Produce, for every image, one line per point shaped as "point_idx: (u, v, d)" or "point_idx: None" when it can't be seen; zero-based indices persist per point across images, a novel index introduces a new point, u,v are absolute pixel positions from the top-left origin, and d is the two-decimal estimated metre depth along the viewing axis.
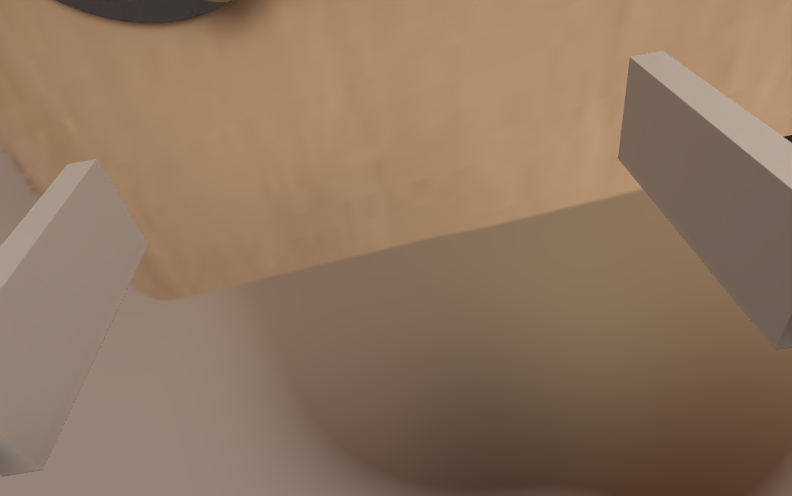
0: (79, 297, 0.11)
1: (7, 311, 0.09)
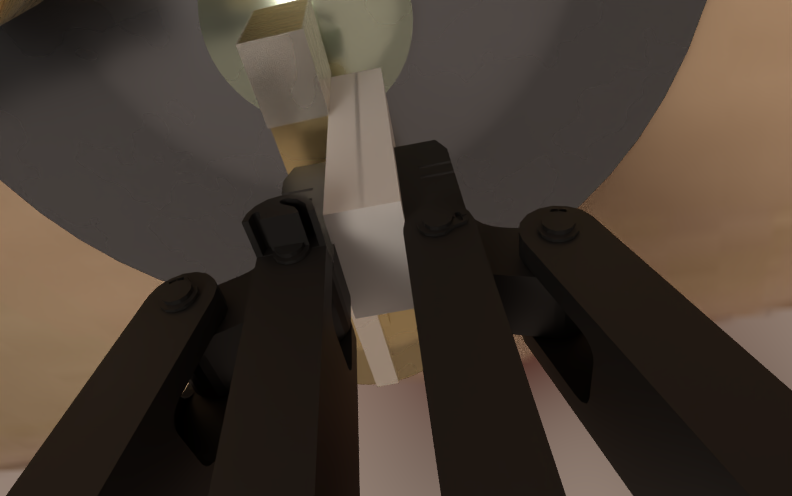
0: None
1: None
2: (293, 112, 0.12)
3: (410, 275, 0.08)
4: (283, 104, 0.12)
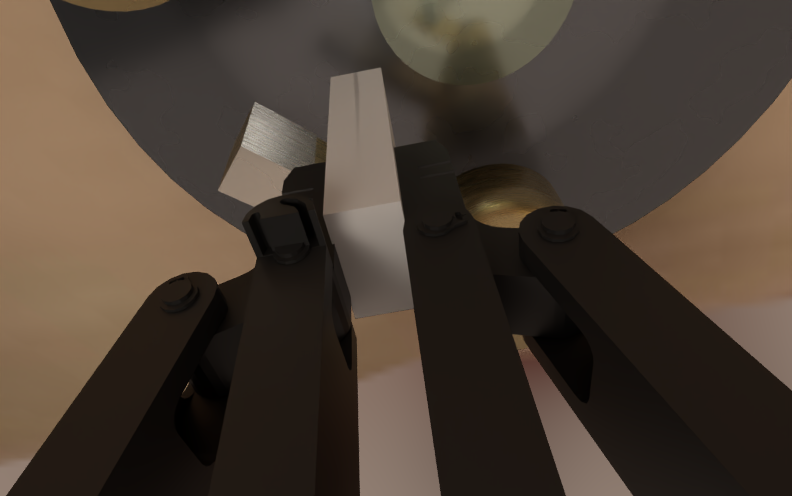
0: None
1: None
2: None
3: (410, 275, 0.08)
4: None
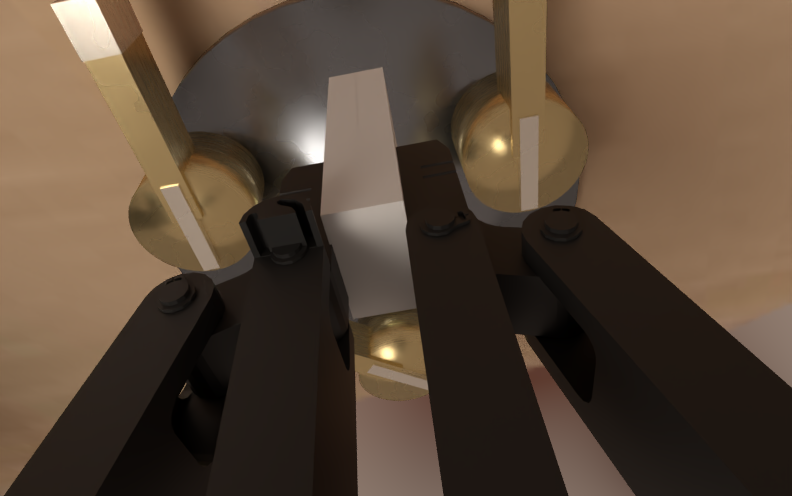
0: None
1: None
2: None
3: (413, 274, 0.08)
4: None
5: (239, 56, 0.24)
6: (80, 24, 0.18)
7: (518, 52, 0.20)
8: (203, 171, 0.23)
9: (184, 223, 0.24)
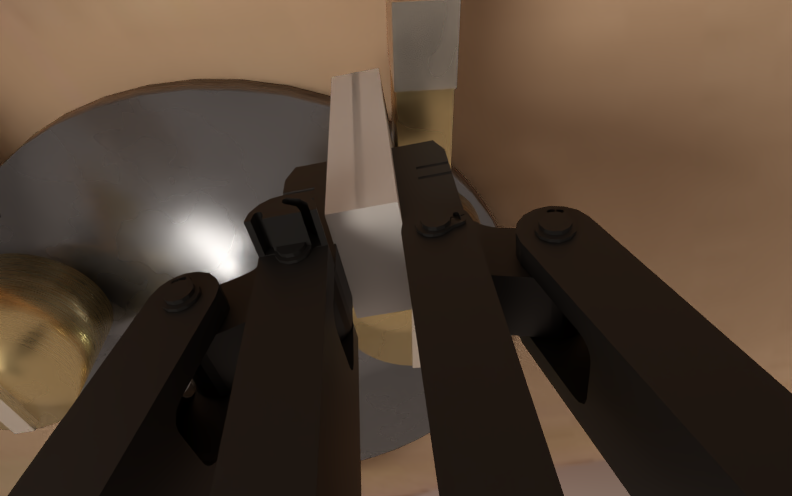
0: None
1: None
2: None
3: (408, 275, 0.08)
4: None
5: (46, 168, 0.18)
6: None
7: None
8: None
9: None
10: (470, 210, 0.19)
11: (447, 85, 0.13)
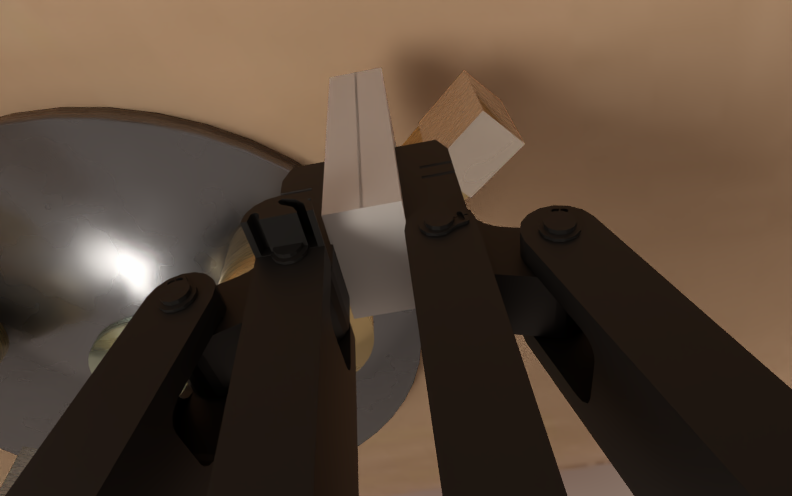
0: None
1: None
2: None
3: (412, 275, 0.08)
4: None
5: None
6: None
7: None
8: None
9: None
10: None
11: (467, 191, 0.14)
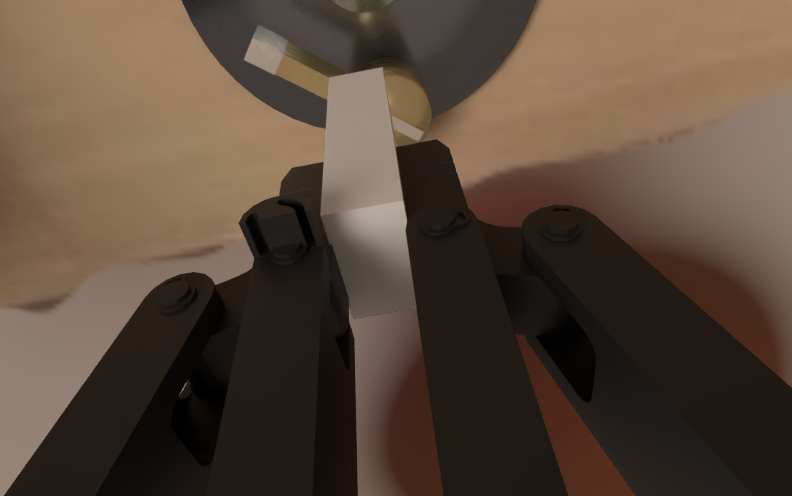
0: None
1: None
2: (275, 63, 0.33)
3: (413, 274, 0.08)
4: (270, 63, 0.33)
5: None
6: None
7: None
8: None
9: None
10: None
11: None
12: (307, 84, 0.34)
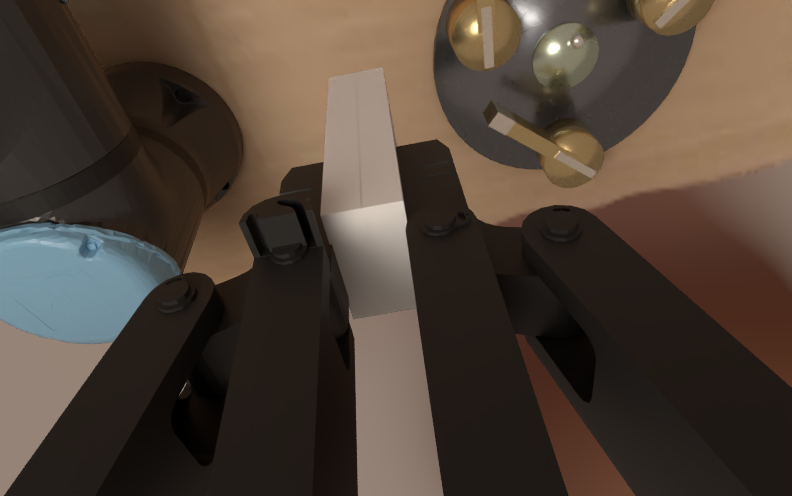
0: None
1: None
2: (508, 127, 0.47)
3: (413, 274, 0.08)
4: (505, 128, 0.47)
5: None
6: None
7: None
8: (501, 1, 0.41)
9: (485, 33, 0.42)
10: None
11: None
12: (525, 141, 0.49)
